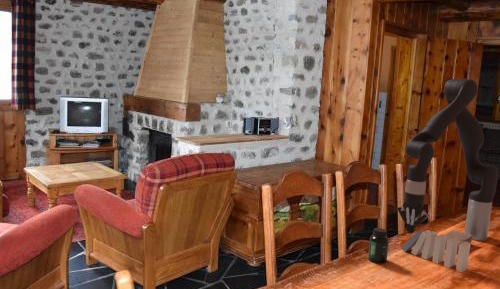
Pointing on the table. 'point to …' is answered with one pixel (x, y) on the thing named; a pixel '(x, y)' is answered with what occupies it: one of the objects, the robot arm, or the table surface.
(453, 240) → the tile
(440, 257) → the tile
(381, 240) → the supplement bottle
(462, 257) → the tile
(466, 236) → the brick
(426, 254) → the tile
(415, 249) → the tile
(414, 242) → the tile
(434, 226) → the table surface
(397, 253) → the table surface
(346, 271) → the table surface
